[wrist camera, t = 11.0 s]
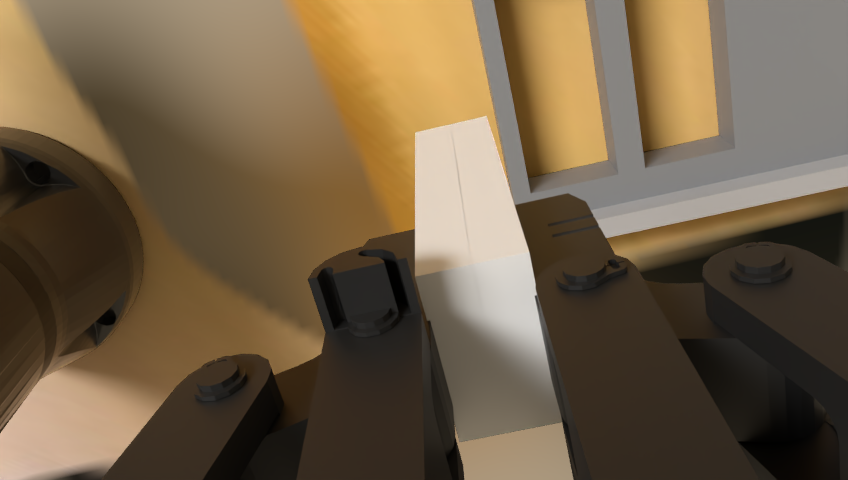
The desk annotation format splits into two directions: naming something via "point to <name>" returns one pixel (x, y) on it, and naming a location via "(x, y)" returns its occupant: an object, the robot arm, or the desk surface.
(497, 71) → the lane deck
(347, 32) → the desk surface
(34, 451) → the desk surface
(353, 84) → the desk surface
